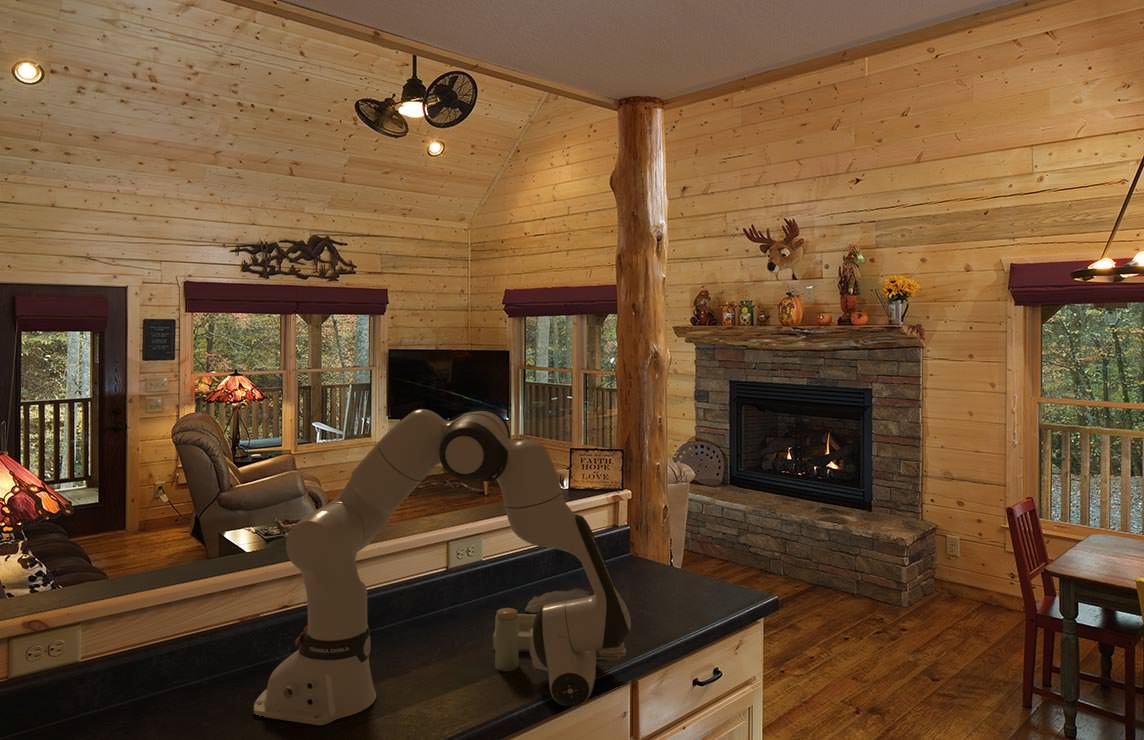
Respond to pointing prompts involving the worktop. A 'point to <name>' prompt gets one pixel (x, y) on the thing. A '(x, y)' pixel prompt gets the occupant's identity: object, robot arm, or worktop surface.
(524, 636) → the beige tray
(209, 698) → the worktop surface
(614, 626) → the robot arm
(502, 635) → the sage jar
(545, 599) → the stone tool
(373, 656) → the worktop surface
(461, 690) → the worktop surface
